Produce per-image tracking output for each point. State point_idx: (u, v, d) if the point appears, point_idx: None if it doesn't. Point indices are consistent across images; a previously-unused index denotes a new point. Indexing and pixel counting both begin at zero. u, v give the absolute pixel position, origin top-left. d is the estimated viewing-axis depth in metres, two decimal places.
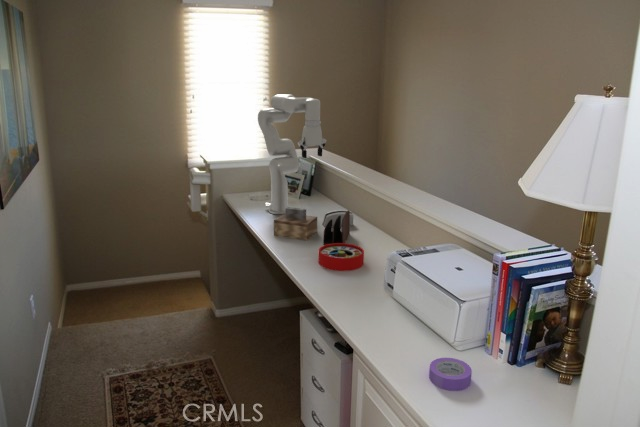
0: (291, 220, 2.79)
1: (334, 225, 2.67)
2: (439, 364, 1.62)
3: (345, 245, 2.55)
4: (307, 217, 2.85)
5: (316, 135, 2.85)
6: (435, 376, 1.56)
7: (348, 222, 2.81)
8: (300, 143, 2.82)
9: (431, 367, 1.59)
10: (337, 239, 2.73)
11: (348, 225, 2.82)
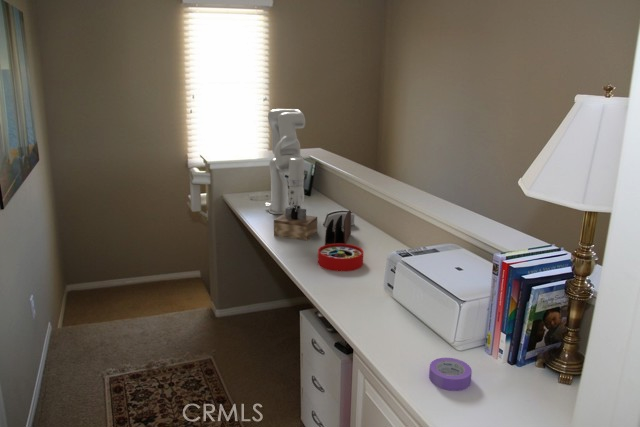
0: (291, 220, 2.79)
1: (336, 225, 2.67)
2: (439, 364, 1.62)
3: (344, 245, 2.55)
4: (307, 217, 2.85)
5: None
6: (435, 376, 1.56)
7: (349, 222, 2.82)
8: None
9: (431, 367, 1.59)
10: (339, 239, 2.73)
11: (349, 225, 2.82)
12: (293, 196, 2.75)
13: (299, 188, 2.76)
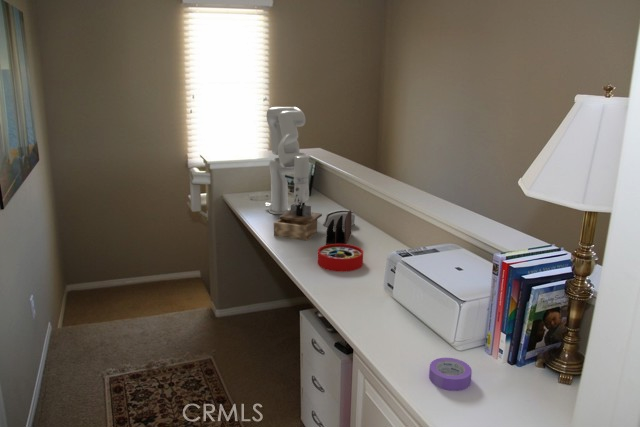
0: (296, 217, 2.85)
1: (337, 225, 2.67)
2: (439, 364, 1.62)
3: (344, 246, 2.54)
4: (312, 214, 2.91)
5: None
6: (435, 376, 1.56)
7: (350, 222, 2.82)
8: None
9: (431, 367, 1.59)
10: (339, 239, 2.74)
11: (350, 225, 2.82)
12: (298, 193, 2.81)
13: (304, 185, 2.82)
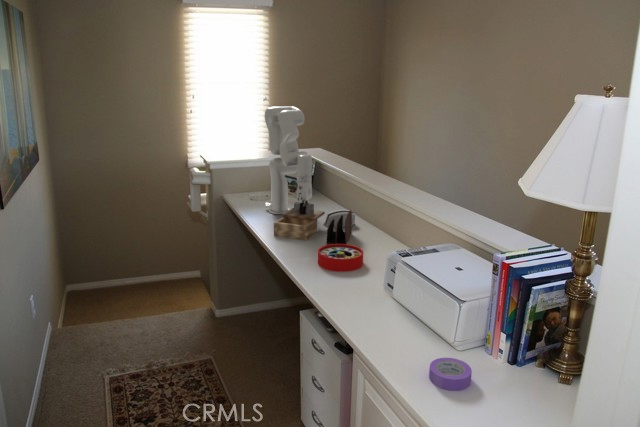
0: (299, 214, 2.89)
1: (337, 225, 2.67)
2: (439, 364, 1.62)
3: (344, 246, 2.54)
4: (315, 212, 2.95)
5: None
6: (435, 376, 1.56)
7: (350, 222, 2.82)
8: None
9: (431, 367, 1.59)
10: (340, 239, 2.74)
11: (350, 225, 2.82)
12: (301, 191, 2.85)
13: (307, 183, 2.86)
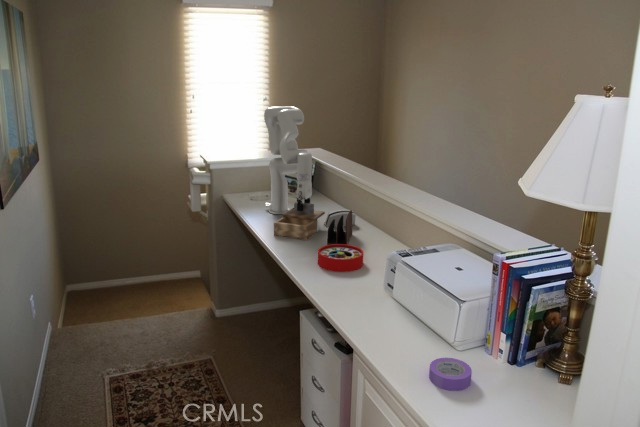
0: (299, 214, 2.89)
1: (338, 225, 2.68)
2: (439, 364, 1.62)
3: (344, 246, 2.54)
4: (315, 212, 2.95)
5: None
6: (435, 376, 1.56)
7: (351, 222, 2.82)
8: None
9: (431, 367, 1.59)
10: (340, 239, 2.74)
11: (351, 225, 2.82)
12: (301, 189, 2.85)
13: (307, 182, 2.86)
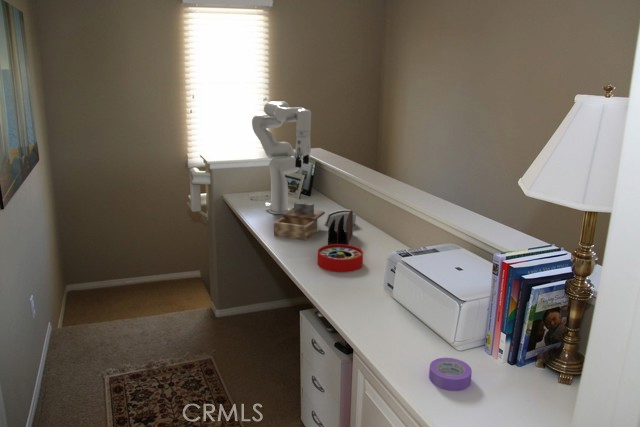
0: (299, 214, 2.89)
1: (338, 225, 2.68)
2: (439, 364, 1.62)
3: (344, 246, 2.54)
4: (315, 212, 2.95)
5: None
6: (435, 377, 1.56)
7: (351, 222, 2.82)
8: None
9: (431, 367, 1.59)
10: (341, 239, 2.74)
11: (351, 225, 2.82)
12: (300, 146, 2.89)
13: (306, 139, 2.90)
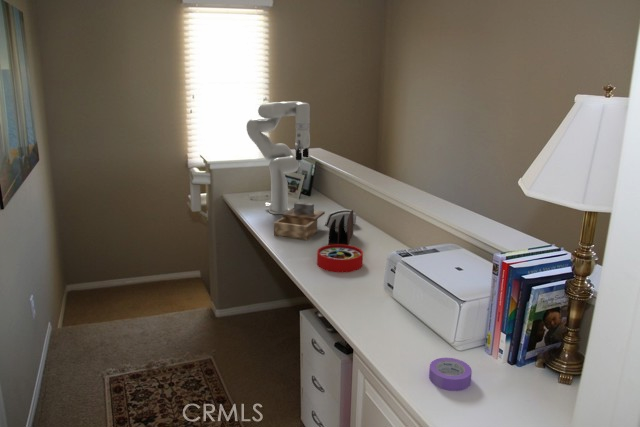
0: (299, 214, 2.89)
1: (339, 225, 2.68)
2: (439, 364, 1.62)
3: (343, 246, 2.53)
4: (315, 212, 2.95)
5: None
6: (435, 376, 1.56)
7: (352, 222, 2.82)
8: None
9: (431, 367, 1.59)
10: (342, 239, 2.74)
11: (352, 225, 2.82)
12: (300, 139, 2.93)
13: (305, 131, 2.94)
